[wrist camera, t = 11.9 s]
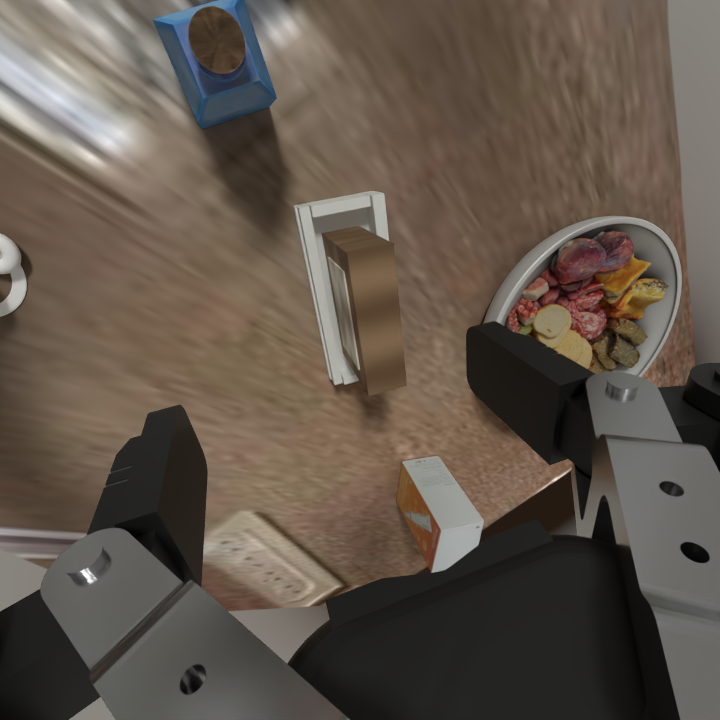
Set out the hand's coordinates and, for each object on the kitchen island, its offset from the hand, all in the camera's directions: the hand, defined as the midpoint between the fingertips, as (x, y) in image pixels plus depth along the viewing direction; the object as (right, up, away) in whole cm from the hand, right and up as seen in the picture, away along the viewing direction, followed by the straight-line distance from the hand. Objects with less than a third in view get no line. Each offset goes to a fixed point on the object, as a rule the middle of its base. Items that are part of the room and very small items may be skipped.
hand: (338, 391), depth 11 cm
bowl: (+29, +6, +46) cm, 55 cm away
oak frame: (0, +8, +33) cm, 34 cm away
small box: (+9, -17, +51) cm, 55 cm away
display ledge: (-1, +9, +34) cm, 35 cm away
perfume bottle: (-11, +25, +23) cm, 35 cm away
